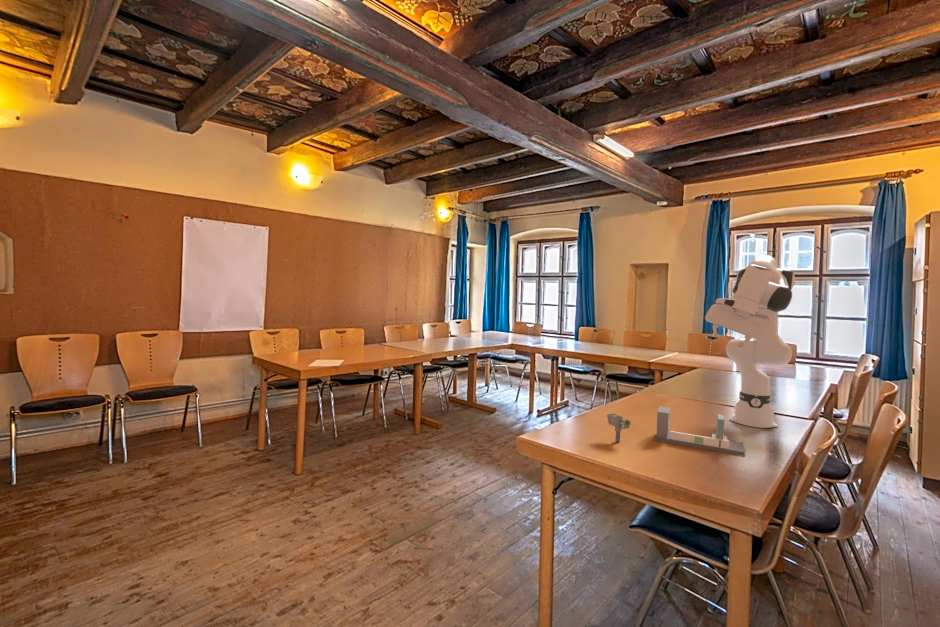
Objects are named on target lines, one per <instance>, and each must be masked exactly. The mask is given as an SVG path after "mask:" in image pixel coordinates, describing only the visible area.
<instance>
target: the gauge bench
mask: <svg viewBox="0 0 940 627" xmlns="http://www.w3.org/2000/svg"><path fill="white" fill-rule="evenodd" d="M670 417H671V407H668V406H667V407H666V406H659V408H658V409H657V417H656V433H655V441H656V442H661V443H665V444H671V445H677V446H678V445H679V446H683V447H688V448H689V447H690V448H694V449H695V448H696V449H700V450H701V449H702V450H707V451H711V452H717V453H724V454H728V455H729V454H730V455H735V456H739V457H740V456H741V457H745V455H746V451H745V448H744V443H743V442H740V441H733V440H729V439H727V440H723V439H717V438H712V436H711V437H709V436H704V435H697V434H692V433H686V432H679V431H673V430H670V422H671V421H670V419H671V418H670Z"/></svg>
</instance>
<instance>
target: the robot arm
mask: <svg viewBox="0 0 940 627" xmlns="http://www.w3.org/2000/svg"><path fill="white" fill-rule="evenodd" d="M778 267H779V266H778V262H777V260H776V259H775V258H774V257H773V256H772V255H768V254H767V255H766V254H763V255H760V256H757V257H755V258H753V259H752V260H751V261H750V262H749V263H748V265H747V266H746V267H745V268H743V269H741V270H739V271H738V273H737V275H736V278H735V285H734V286H733V289H732V290H731V291H732V293H733V295H732V298H729V297H725V298H724V297H723V298H722V297H720V298H716V300H715V301H714V302H715V304H712V305H711V306H710V308H709V309H708V310H707V312H706V314H705V316H704V319H705V321H706V322H708V323H711V324H712V327H711V328H712V331H713V332H712V334H711V337H713V338H716V339H717V338H718V337H719V334H720V333H718V330H717V328H718V329H719V327H722V328H725V329H727V330H730V331H733V332H736V333H738V334H741V335H744V338H742V337H741V338H732V339H731V340H729V341H728V342H727V344H726V346H725V353H726V355H727V356H728V358H729V359H730V360H731V361H732V362H733V363H734V364H735V365H736V366H737V368H738V370H739V373H740V383H741V384H740V391H739V400H738V401H737V402H735V404H733V410H734V411H733V413H732V415H731V416H730V417H729V419H728V420H729V421H731V422H735V423H737V424H740V425H744V426H747V427H751V428H759V429H761V428H762V429H770V428H778V427H779V424H777V423H776V422H774V416H775V414H774V412H775V409H774V407H773V406H771V404H770V403H771V401H772V400H771V399H772V398H771V395H770V394H771V393H770V390H771V379H770V376H768V374H766V373H765V372H763V371H761V370H760V369H759V368H758V366H757V364H758V365H767V366H785V365H787V364H789V362H790V361H791V360H792V357H793V350H792V348H791V347H790V345H788V343H786V342H785V341H784V340H783V339H782V337H780V335H779V333H778V329H777V318H778V317H777V316H778V313H779V312H782V311H785V310H786V309H787V308H788V307H789V306H790V304H791V303H792V299H793V291H792V290H793V288H794V286H795V284H796V276H795V274H794V271H793V270H792V269H788V268H778Z"/></svg>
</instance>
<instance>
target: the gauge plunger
mask: <svg viewBox="0 0 940 627" xmlns="http://www.w3.org/2000/svg"><path fill="white" fill-rule="evenodd" d="M716 417H717V419H716V433H711V438H717V439H723V440H728V437H727V435H724V433H725V432H724V430H725V429H724V428H725V417H724V414H720V413H717V415H716Z"/></svg>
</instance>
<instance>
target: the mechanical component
mask: <svg viewBox="0 0 940 627" xmlns="http://www.w3.org/2000/svg"><path fill="white" fill-rule="evenodd" d="M606 417H607V423H608V425H609V426H613V427H614V431H615V439H614V440H615V443H616V444H617V443H620V442H621V441H620V440H621V432H623V431H622V430H626V429H630V426H631V421H630V419H623V418H624V417H623V416H620V415H618V414H615V413H607V416H606Z"/></svg>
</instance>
